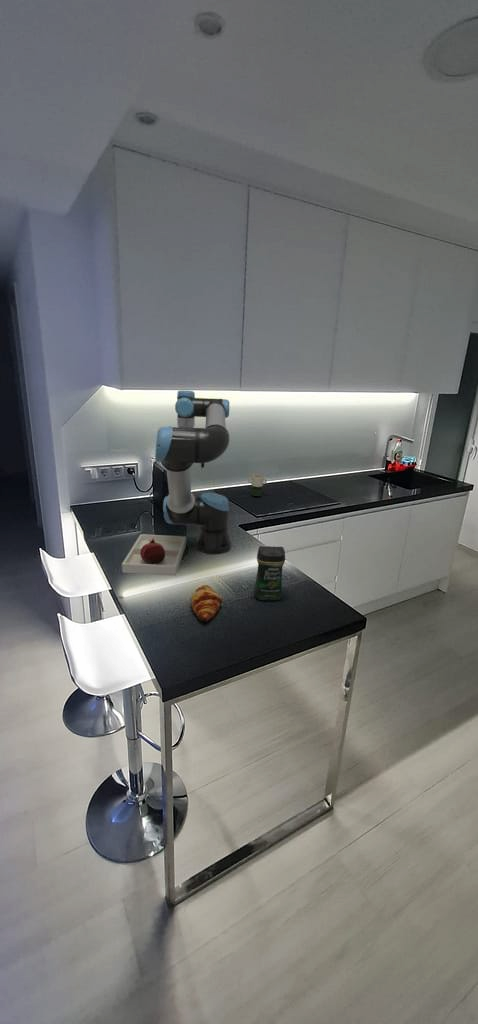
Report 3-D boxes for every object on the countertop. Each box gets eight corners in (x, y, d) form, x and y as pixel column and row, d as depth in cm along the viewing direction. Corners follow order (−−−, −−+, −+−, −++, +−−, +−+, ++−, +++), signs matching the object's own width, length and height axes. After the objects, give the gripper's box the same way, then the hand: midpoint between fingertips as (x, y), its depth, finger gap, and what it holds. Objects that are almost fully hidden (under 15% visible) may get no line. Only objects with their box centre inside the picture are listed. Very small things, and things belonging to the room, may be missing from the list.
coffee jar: (254, 602, 144) (258, 552, 138) (253, 590, 151) (256, 542, 145) (283, 602, 144) (287, 552, 138) (280, 590, 152) (284, 542, 146)
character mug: (264, 494, 261) (266, 474, 257) (266, 498, 254) (267, 477, 250) (247, 494, 260) (248, 473, 256) (247, 497, 254) (248, 476, 249)
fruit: (159, 569, 161) (159, 545, 157) (136, 565, 163) (135, 541, 159) (169, 559, 169) (169, 536, 166) (147, 555, 171) (146, 532, 168)
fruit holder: (186, 543, 186) (186, 536, 185) (175, 575, 159) (175, 566, 158) (140, 541, 186) (140, 534, 185) (122, 572, 159) (121, 564, 158)
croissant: (197, 599, 150) (187, 581, 148) (223, 587, 150) (213, 569, 147) (196, 634, 130) (184, 614, 128) (225, 621, 130) (214, 600, 127)
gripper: (214, 427, 191) (213, 473, 198) (159, 424, 191) (160, 470, 198) (213, 429, 184) (212, 477, 191) (156, 426, 184) (156, 474, 191)
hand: (185, 473), depth 195 cm, fingers open, 13 cm apart
